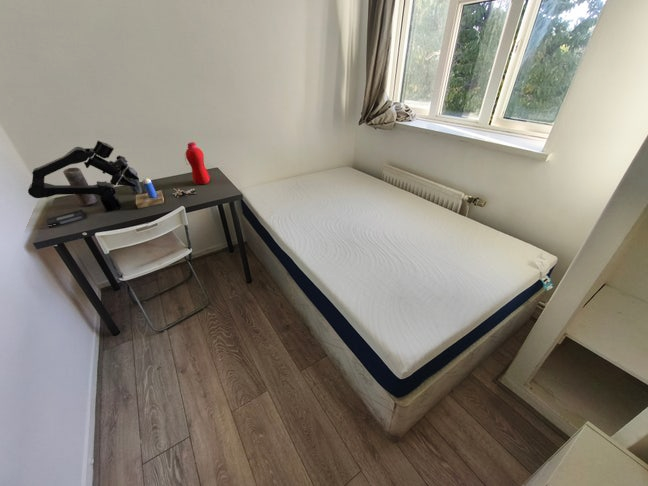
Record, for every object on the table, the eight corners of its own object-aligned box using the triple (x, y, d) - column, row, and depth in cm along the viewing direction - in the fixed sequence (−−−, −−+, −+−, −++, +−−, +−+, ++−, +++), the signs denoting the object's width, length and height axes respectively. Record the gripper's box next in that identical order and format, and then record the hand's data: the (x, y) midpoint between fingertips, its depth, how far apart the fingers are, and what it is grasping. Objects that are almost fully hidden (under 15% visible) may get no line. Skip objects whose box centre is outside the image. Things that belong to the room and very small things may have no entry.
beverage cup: (133, 196, 161) (117, 163, 150) (130, 192, 166) (114, 159, 154) (146, 192, 165) (132, 160, 153) (143, 188, 170) (129, 156, 158)
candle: (96, 199, 159) (78, 166, 147) (99, 203, 154) (80, 169, 143) (80, 203, 154) (60, 169, 142) (83, 208, 150) (62, 173, 138)
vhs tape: (84, 218, 141) (82, 215, 140) (49, 228, 134) (47, 224, 133) (83, 212, 146) (81, 209, 145) (49, 222, 139) (47, 218, 137)
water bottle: (194, 180, 180) (182, 141, 165) (211, 179, 181) (200, 140, 166) (190, 185, 172) (177, 145, 158) (208, 184, 173) (196, 144, 158)
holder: (138, 208, 149) (135, 203, 147) (138, 199, 157) (136, 195, 156) (164, 202, 154) (162, 198, 152) (163, 194, 162) (161, 190, 161)
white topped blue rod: (151, 203, 154) (141, 180, 146) (151, 200, 157) (141, 178, 149) (159, 201, 155) (149, 179, 147) (158, 198, 158) (149, 176, 150)
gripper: (106, 158, 129) (141, 177, 139) (115, 147, 143) (147, 165, 153) (95, 176, 132) (131, 194, 141) (105, 164, 146) (137, 180, 155)
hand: (137, 182), depth 148 cm, fingers open, 9 cm apart
